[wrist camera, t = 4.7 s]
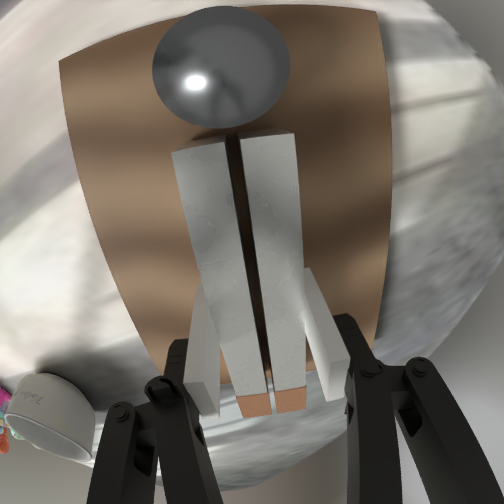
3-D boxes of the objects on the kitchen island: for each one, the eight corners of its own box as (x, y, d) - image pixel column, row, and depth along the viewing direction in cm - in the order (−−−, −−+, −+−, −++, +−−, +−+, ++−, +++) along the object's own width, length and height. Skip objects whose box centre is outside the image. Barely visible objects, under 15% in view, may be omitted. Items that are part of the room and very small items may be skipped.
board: (70, 63, 12) (58, 61, 10) (365, 17, 12) (375, 11, 10) (170, 374, 24) (168, 387, 22) (364, 345, 24) (370, 356, 23)
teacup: (46, 348, 22) (17, 408, 15) (121, 406, 27) (108, 465, 20) (11, 377, 25) (-9, 420, 18) (69, 421, 29) (57, 465, 22)
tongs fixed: (167, 44, 11) (144, 21, 7) (266, 28, 11) (280, 0, 7) (238, 375, 22) (241, 418, 18) (298, 365, 22) (309, 407, 18)
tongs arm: (236, 132, 13) (238, 139, 10) (277, 127, 13) (295, 133, 10) (270, 372, 22) (277, 413, 18) (296, 367, 22) (305, 408, 18)
